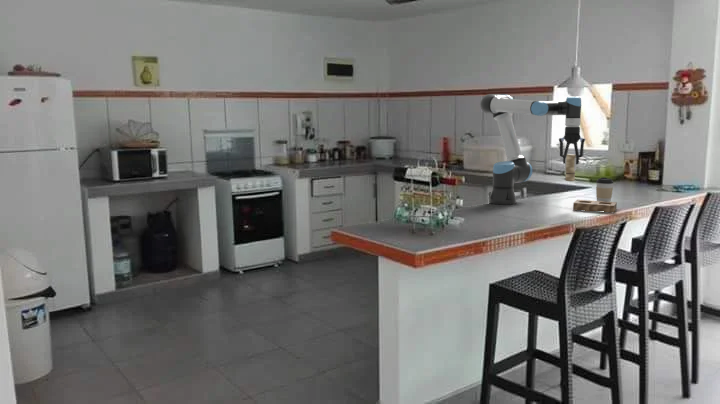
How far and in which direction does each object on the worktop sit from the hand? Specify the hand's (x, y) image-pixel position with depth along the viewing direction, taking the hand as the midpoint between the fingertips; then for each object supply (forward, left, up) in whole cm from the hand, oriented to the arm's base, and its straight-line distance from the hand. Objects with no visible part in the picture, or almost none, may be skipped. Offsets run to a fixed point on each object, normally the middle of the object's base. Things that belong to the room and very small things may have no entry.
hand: (570, 170), depth 313 cm
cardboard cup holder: (+13, 0, -21) cm, 25 cm away
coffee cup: (+15, +19, -21) cm, 32 cm away
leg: (0, 0, -6) cm, 6 cm away
